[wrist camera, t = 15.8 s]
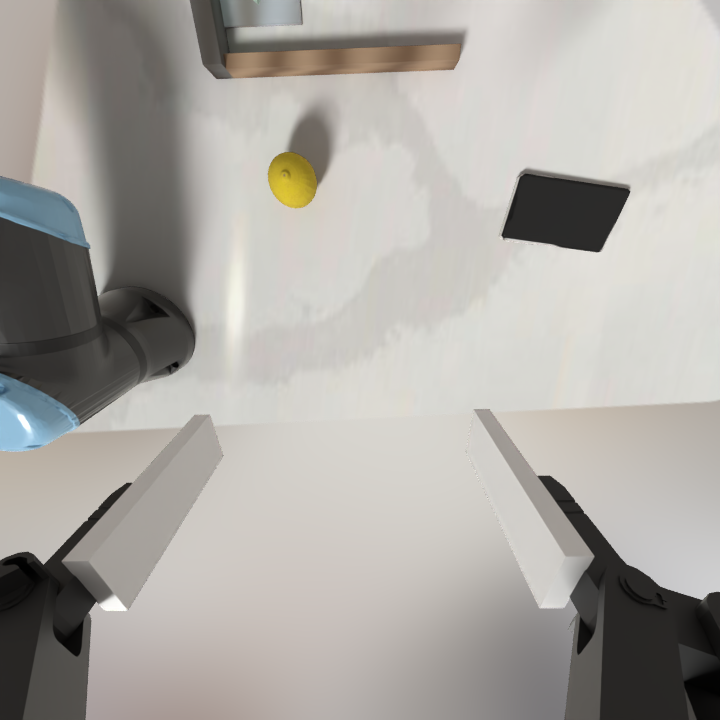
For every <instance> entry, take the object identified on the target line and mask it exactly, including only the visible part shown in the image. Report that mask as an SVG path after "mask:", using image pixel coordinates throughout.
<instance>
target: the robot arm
mask: <svg viewBox="0 0 720 720" xmlns="http://www.w3.org/2000/svg"><path fill="white" fill-rule="evenodd" d="M89 249H90V245H89V243H88V242H86V239H85V235H84V231H83V227H82V223H81V220H80V216H79V213H78V211H77V209H76V208H75V206H74V205H73V204H72V203H71V202H70V201H69V200H68V199H66V198H65V197H64V196H62V195H60V194H58V193H56V192H54V191H51V190H48V189H45V188H42V187H38V186H35V185H31V184H28V183H24V182H21V181H17V180H13V179H10V178H6V177H2V176H0V450H2V451H28V450H33V449H37V448H40V447H42V446H45V445H47V444H48V443H50V442H52V441H54V440H55V439H57V438H58V437H60V436H62V435H64V434H65V433H67V432H70V431H73V430H74V429H76V428H78V426H79V425H81V424H82V423H84V422H85V421H87V420H88V419H89V418H91V417H92V416H94V415H95V414H96V413H98V412H99V411H101V410H102V409H104V408H105V407H106V406H108V405H109V404H111V403H112V402H113V401H115V400H116V399H118V398H119V397H120V396H122V395H123V394H125V393H126V392H128V391H129V390H130V389H132V388H133V387H135V386H136V385H138V384H140V383H144V382H147V381H151V380H155V379H159V378H163V377H166V376H169V375H171V374H173V373H175V372H177V371H178V370H179V369H181V368H182V367H183V366H185V365H186V364H187V363H188V361H189V360H190V358H191V357H192V354H193V351H194V337H193V333H192V330H191V327H190V325H189V323H188V321H187V319H186V318H185V316H184V315H183V314H182V313H181V311H180V310H179V309H178V308H177V307H176V306H175V305H174V304H173V303H171V302H170V301H169V300H168V299H166V298H165V297H163V296H161V295H159V294H158V293H155V292H153V291H151V290H148V289H144V288H139V287H123V288H119V289H115V290H111V291H108V292H105V293H103V294H101V295H99V296H97V291H96V285H95V280H94V275H93V270H92V265H91V259H90V254H89ZM466 453H467V455H468V457H469V460H470V462H471V464H472V466H473V468H474V470H475V472H476V474H477V477H478V479H479V481H480V483H481V485H482V487H483V489H484V491H485V494H486V496H487V498H488V500H489V502H490V504H491V506H492V508H493V511H494V513H495V515H496V517H497V519H498V521H499V523H500V526H501V528H502V530H503V532H504V534H505V536H506V538H507V540H508V543H509V544H510V547H511V549H512V551H513V553H514V555H515V557H516V559H517V562H518V564H519V566H520V568H521V570H522V572H523V574H524V576H525V579H526V581H527V583H528V585H529V587H530V589H531V591H532V593H533V596H534V598H535V600H536V602H537V604H538V606H539V608H564V607H565V606H566V604H567V602H568V601H569V599H570V598H571V600H572V602H573V604H574V606H575V607H576V609H577V611H578V613H577V614H576V616H575V617H574V619H573V621H572V622H571V624H570V626H569V628H568V630H569V631H571V632H573V631H574V638H573V647H572V656H571V665H570V674H569V684H568V692H567V702H566V712H565V720H720V592H714V593H709V594H708V595H707V596H706V597H705V598H704V599H703V600H700V599H697V598H694V597H691V596H687V595H684V594H681V593H678V592H674V591H671V590H668V589H665V588H662V587H660V586H659V585H658V584H656V583H655V582H654V581H653V580H652V579H651V578H650V577H649V576H647V575H646V574H644V573H643V572H641V571H640V570H638V569H636V568H634V567H632V566H629V565H627V564H626V563H625V562H624V561H623V560H622V559H621V558H620V557H619V555H618V554H617V553H616V552H615V550H614V549H613V548H612V547H611V545H610V544H609V543H608V541H607V540H606V539H605V538H604V537H603V535H602V534H601V533H600V531H599V530H598V529H597V527H596V526H595V525H594V524H593V522H592V521H591V520H590V519H589V517H588V516H587V515H586V514H584V511H583V510H582V509H581V507H580V506H579V505H578V503H575V500H574V498H573V497H572V496H571V495H570V493H569V492H568V491H567V490H566V488H565V487H564V486H562V485H561V484H560V483H559V482H557V481H556V480H555V479H554V478H552V477H551V476H537V475H536V474H535V472H534V471H533V469H532V468H531V467H530V465H529V464H528V463H527V461H526V460H525V458H524V457H523V456H522V454H521V453H520V451H519V450H518V449H517V447H516V446H515V444H514V443H513V442H512V440H511V439H510V438H509V436H508V435H507V433H506V432H505V430H504V429H503V428H502V426H501V425H500V423H499V422H498V421H497V419H496V418H495V416H494V415H493V414H492V412H491V411H490V409H474V410H473V416H472V421H471V426H470V432H469V437H468V442H467V448H466ZM222 457H223V453H222V450H221V447H220V444H219V441H218V438H217V435H216V432H215V429H214V426H213V423H212V420H211V417H210V415H194V416H193V417H192V419H191V420H190V421H189V422H188V423H187V424H186V425H185V426H184V427H183V428H182V430H181V431H180V432H179V433H178V434H177V435H176V436H175V437H174V438H173V439H172V441H171V442H170V443H169V444H168V445H167V446H166V447H165V448H164V449H163V450H162V451H161V453H160V454H159V455H158V456H157V457H156V458H155V459H154V460H153V461H152V462H151V464H150V465H149V466H148V467H147V468H146V469H145V470H144V471H143V472H142V473H141V475H140V476H139V477H138V478H137V479H136V480H135V481H134V482H133V483H126V484H125V485H123V486H122V487H121V488H119V489H118V490H116V491H115V492H114V493H112V494H111V495H110V496H109V497H108V498H107V499H106V500H105V501H104V502H103V503H102V504H101V506H100V507H99V509H98V510H96V511H95V512H94V513H93V514H92V515H91V516H90V517H89V518H88V521H85V522H84V523H83V524H82V525H81V527H79V528H78V530H76V532H75V533H74V534H73V535H72V536H71V537H70V538H69V539H68V540H67V541H66V542H65V543H64V544H63V545H62V546H61V547H60V549H58V551H57V552H55V554H54V555H53V556H52V557H51V558H50V559H49V560H48V561H47V562H46V563H45V564H44V565H43V564H42V563H41V562H40V561H39V560H38V559H37V558H36V556H35V555H34V554H32V553H29V552H22V553H17V554H14V555H11V556H9V557H6V558H4V559H2V560H0V720H85V718H86V701H87V684H88V667H89V649H90V634H91V633H90V632H91V618H90V614H89V613H88V612H89V611H90V610H91V608H92V607H93V605H94V604H95V603H96V602H97V603H98V604H99V605H100V606H101V607H102V608H103V609H104V610H105V611H127V610H129V608H130V607H131V605H132V603H133V602H134V600H135V598H136V597H137V595H138V594H139V592H140V590H141V589H142V587H143V585H144V584H145V582H146V581H147V579H148V577H149V576H150V574H151V572H152V571H153V569H154V568H155V566H156V564H157V563H158V561H159V560H160V558H161V556H162V555H163V553H164V551H165V550H166V548H167V547H168V545H169V543H170V542H171V540H172V538H173V537H174V535H175V534H176V532H177V530H178V529H179V527H180V526H181V524H182V522H183V521H184V519H185V517H186V516H187V514H188V512H189V511H190V509H191V508H192V506H193V504H194V503H195V501H196V500H197V498H198V496H199V495H200V493H201V491H202V490H203V488H204V486H205V485H206V483H207V481H208V480H209V479H210V477H211V475H212V474H213V472H214V470H215V469H216V467H217V465H218V464H219V462H220V461H221V459H222Z"/></svg>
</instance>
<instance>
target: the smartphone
mask: <svg viewBox="0 0 720 720" xmlns="http://www.w3.org/2000/svg"><path fill="white" fill-rule="evenodd" d="M629 194H630V191H629V190H628V189H625V188H618V187H612V186H605V185H599V184H592V183H585V182H579V181H572V180H565V179H559V178H555V177H552V176H545V175H539V174H537V175H532V174H522V175H520V176H519V177H517V179H516V182H515V185H514V189H513V192H512V195H511V198H510V201H509V205H508V208H507V211H506V214H505V217H504V221H503V224H502V227H501V230H500V233H499V237H500V238H501V239H503V240H504V241H509V242H516V243H524V244H531V245H533V244H539V245H547V246H554V247H561V248H569V249H576V250H583V251H591V252H601V251H602V250H603V248H604V246H605V244H606V242H607V240H608V238H609V236H610V234H611V232H612V230H613V228H614V225H615V223H616V221H617V219H618V217H619V215H620V213H621V211H622V209H623V207H624V204H625V202H626V200H627V198H628V196H629Z"/></svg>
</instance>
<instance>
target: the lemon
mask: <svg viewBox="0 0 720 720" xmlns="http://www.w3.org/2000/svg"><path fill="white" fill-rule="evenodd" d="M268 181H269V185H270V188H271V190H272V192H273V194H274V195H275V197H276V198H277V199H278V200H279V201H280V202H281V203H283V204H284V205H286V206H288V207H291V208H302V207H304V206H306V205H308V204H309V203H310V202H311V201H312V199H313V198H314V196H315V193H316V189H317V180H316V175H315V172H314V170H313V168H312V166H311V165H310V163H309V162H308V161H307V160H306V159H305V158H303V157H302V156H300V155H299V154H296V153H293V152H285V153H281V154H279V155H278V156H276V157H275V158H274V159H273V161H272V162H271V164H270V166H269V171H268Z"/></svg>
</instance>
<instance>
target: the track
mask: <svg viewBox="0 0 720 720" xmlns="http://www.w3.org/2000/svg"><path fill="white" fill-rule="evenodd" d="M190 3H191V8H192V13H193V18H194V23H195V28H196V33H197V38H198V43H199V48H200V53H201V58H202V63H203V65H204V66H205V67H206V68H207V69H208V70H209V71H210V72H211V73H212V75H213V76H214V77H215V78H216V79H228V78H253V77H278V76H303V75H329V74H354V73H379V72H404V71H429V70H454V68H455V66H456V65H457V63H458V61H459V58H460V48H461V44H444V45H420V46H396V47H372V48H348V49H324V50H300V51H276V52H252V53H229V47H228V41H227V35H226V29H225V28H234V27H257V26H280V25H302V18H301V5H300V0H260V3H259V5H258V4H257V3H256V2H255V1H253V0H190Z"/></svg>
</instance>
